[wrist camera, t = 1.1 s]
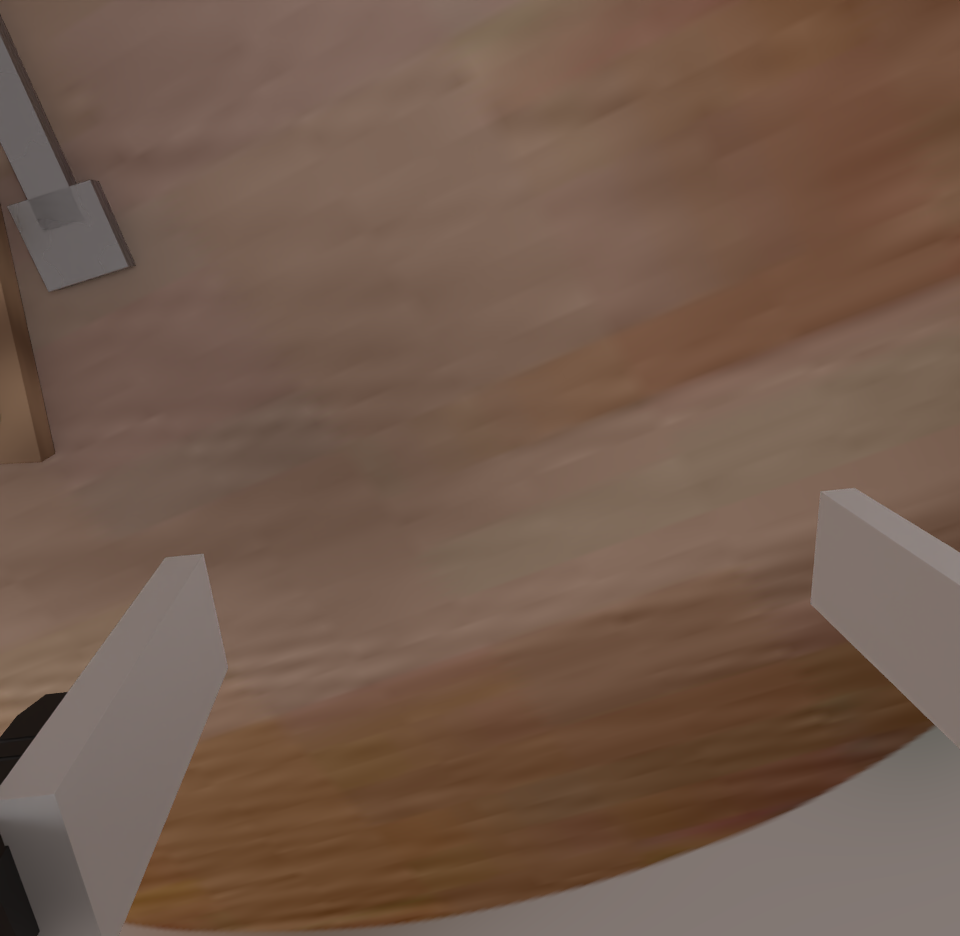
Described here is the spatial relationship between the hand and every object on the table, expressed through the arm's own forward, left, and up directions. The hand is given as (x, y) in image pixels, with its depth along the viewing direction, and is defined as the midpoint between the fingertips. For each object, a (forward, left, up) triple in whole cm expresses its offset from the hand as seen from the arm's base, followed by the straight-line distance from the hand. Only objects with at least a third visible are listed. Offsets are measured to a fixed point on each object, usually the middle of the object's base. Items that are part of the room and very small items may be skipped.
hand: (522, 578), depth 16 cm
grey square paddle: (-12, -19, -25) cm, 34 cm away
